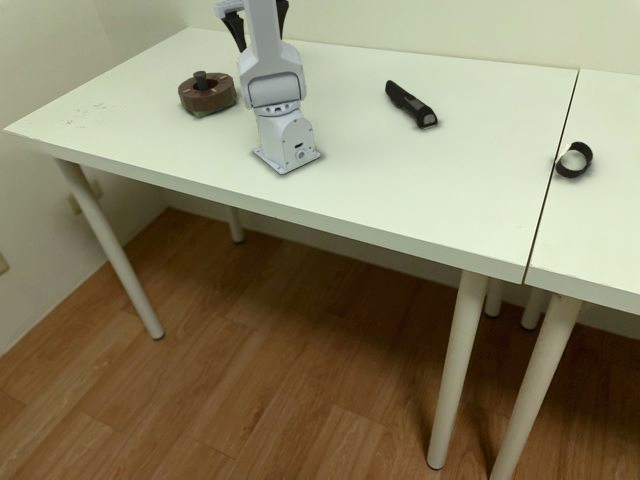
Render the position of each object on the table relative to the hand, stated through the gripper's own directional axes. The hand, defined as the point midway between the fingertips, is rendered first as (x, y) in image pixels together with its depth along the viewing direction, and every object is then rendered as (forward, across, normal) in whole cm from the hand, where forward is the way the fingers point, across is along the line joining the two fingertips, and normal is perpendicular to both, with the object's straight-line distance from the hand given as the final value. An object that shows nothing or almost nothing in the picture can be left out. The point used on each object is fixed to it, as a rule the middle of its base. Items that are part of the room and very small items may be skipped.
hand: (261, 47), depth 90 cm
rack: (+10, +11, -7) cm, 17 cm away
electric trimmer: (+11, -16, +24) cm, 31 cm away
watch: (+11, -21, +54) cm, 59 cm away
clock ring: (+9, +10, -7) cm, 16 cm away
